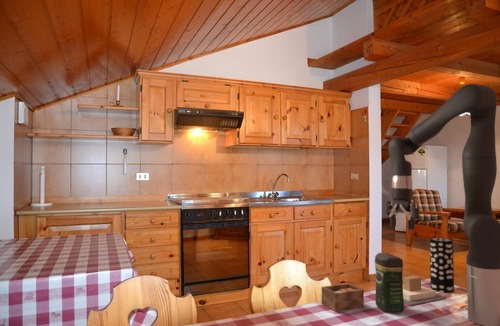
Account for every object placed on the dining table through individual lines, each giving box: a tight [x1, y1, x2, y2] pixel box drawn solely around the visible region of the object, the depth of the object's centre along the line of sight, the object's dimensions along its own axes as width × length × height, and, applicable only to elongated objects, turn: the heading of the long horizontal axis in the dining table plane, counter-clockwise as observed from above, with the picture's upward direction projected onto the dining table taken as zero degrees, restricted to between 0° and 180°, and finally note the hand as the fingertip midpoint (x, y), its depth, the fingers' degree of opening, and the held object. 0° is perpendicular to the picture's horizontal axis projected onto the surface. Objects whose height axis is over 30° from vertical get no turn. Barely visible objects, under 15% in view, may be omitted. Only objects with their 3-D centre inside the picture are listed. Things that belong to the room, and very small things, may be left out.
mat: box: [404, 294, 447, 307], centre depth 129 cm, size 18×15×1 cm
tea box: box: [320, 282, 365, 313], centre depth 119 cm, size 12×8×6 cm, turn 113°
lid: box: [402, 275, 437, 301], centre depth 129 cm, size 13×9×6 cm
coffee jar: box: [374, 252, 405, 314], centre depth 117 cm, size 10×8×19 cm
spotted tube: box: [429, 237, 455, 294], centre depth 137 cm, size 8×8×20 cm
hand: (401, 228), depth 134 cm, fingers open, 8 cm apart
